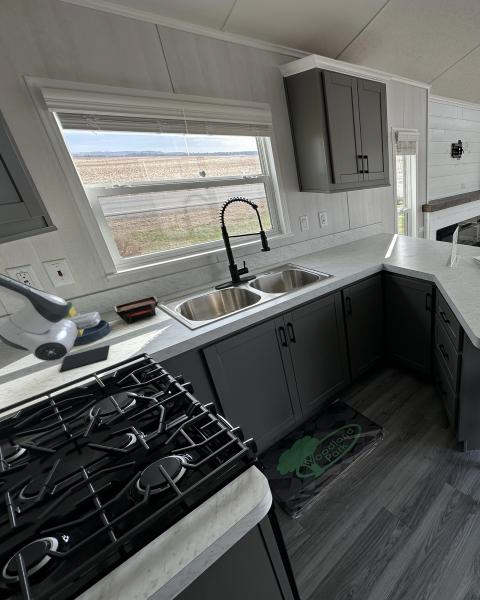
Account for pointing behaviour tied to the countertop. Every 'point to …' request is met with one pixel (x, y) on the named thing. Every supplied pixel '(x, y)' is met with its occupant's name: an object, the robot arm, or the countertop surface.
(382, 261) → the countertop surface
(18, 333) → the robot arm
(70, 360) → the drying mat
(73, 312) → the sponge
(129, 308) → the baking dish
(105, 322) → the bowl
